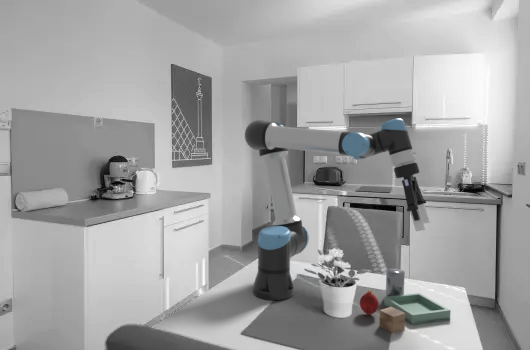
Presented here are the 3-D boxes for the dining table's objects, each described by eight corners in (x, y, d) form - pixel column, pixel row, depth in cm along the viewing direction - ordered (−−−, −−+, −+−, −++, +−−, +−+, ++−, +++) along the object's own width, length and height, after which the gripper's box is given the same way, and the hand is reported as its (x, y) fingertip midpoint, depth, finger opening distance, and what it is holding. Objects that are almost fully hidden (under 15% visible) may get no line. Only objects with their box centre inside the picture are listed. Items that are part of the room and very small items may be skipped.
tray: (384, 305, 119) (384, 296, 119) (418, 301, 123) (419, 293, 123) (412, 324, 106) (412, 315, 105) (450, 319, 109) (450, 310, 109)
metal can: (382, 296, 127) (383, 269, 126) (396, 294, 129) (397, 268, 128) (392, 303, 121) (393, 274, 121) (407, 301, 123) (408, 273, 122)
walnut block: (379, 326, 105) (379, 310, 104) (390, 322, 107) (391, 306, 107) (393, 334, 100) (393, 316, 100) (404, 329, 103) (405, 313, 103)
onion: (379, 320, 108) (380, 294, 108) (360, 318, 110) (360, 293, 109) (377, 312, 114) (378, 287, 114) (358, 310, 115) (359, 286, 115)
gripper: (410, 162, 105) (431, 231, 103) (421, 160, 127) (438, 218, 125) (385, 168, 109) (405, 236, 107) (399, 166, 130) (416, 222, 128)
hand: (423, 226), depth 116 cm, fingers open, 13 cm apart
